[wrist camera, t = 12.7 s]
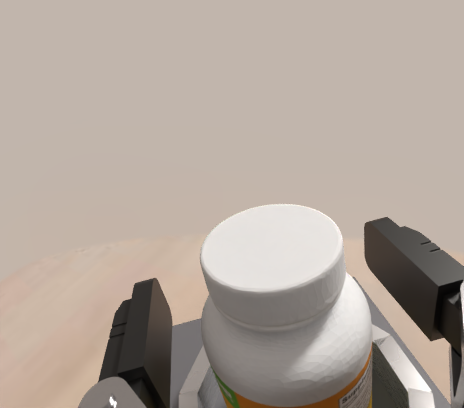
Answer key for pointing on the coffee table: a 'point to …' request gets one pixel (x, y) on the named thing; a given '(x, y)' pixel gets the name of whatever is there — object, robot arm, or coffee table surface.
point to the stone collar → (383, 362)
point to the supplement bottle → (284, 312)
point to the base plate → (182, 360)
